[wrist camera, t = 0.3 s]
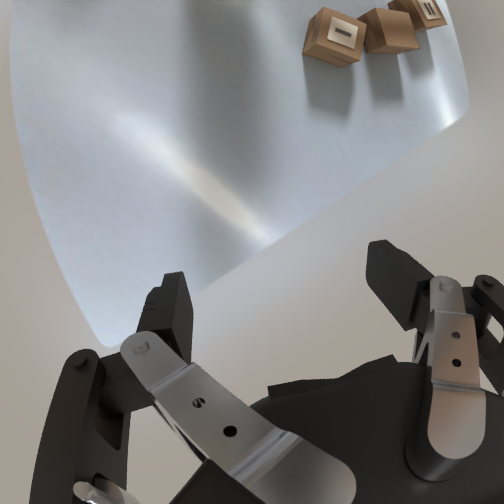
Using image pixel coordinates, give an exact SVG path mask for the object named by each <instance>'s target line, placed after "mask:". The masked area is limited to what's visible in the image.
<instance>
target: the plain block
mask: <svg viewBox="0 0 504 504" xmlns="http://www.w3.org/2000/svg"><path fill="white" fill-rule="evenodd" d="M357 20H358V21H360V22H363V23H365V24H367V25H366V31H365V37H364V46H365V50H366V53H389V54H399V53H403V52H407V51H411V50H415V49H419V45H418V42H417V38H416V35H415V31H414V28H413V25H412V22H411V18H410V15H409V13H406V12H401V11H395V10H389V9H382V8H374V9H372V10H371V11H369V12H367V13H365V14H364V15H362V16H360V17H359V18H357Z"/></svg>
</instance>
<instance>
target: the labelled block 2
mask: <svg viewBox="0 0 504 504" xmlns="http://www.w3.org/2000/svg"><path fill="white" fill-rule="evenodd" d="M387 4H388V5H389V7H390V9H391V10H395V11H401V12H406V13H409V15H410V18H411V22H412V25H413V28H414V31H415V32H416V31H422V30H427V29H431V28H435V27H439V26H443V25H447V22H446V20H445V18H444V16H443V14H442V12H441V10H440V9H439V7H438V5H437V3H436V1H435V0H393V1H391V2H389V3H387Z"/></svg>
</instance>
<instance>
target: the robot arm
mask: <svg viewBox="0 0 504 504" xmlns="http://www.w3.org/2000/svg"><path fill="white" fill-rule="evenodd" d="M366 280H367V283H368V285H369V287H370V288H371V289H372V290H373V292H374V293H375V294H376V295H377V297H378V298H379V299H380V300H381V301H382V303H383V304H384V305H385V306H386V308H387V309H388V310H389V311H390V313H392V315H393V316H394V317H395V319H396V320H397V321H398V323H399V324H400V325H401V327H402V328H403V329H404V330H405V331H407V330H410V329H413V328H416V329H417V332H416V335H415V342H414V350H413V357H412V362H397V361H396V359H395V357H394V356H393V354H392V355H389V356H386V357H383V358H380V359H377V360H374V361H370V362H367V363H365V364H363V365H361V366H359V367H358V368H356V369H354V370H352V371H351V372H349V373H347V374H345V375H343V376H341V377H339V378H335V379H314V380H313V379H312V380H298V381H293V382H288V383H283V384H278V385H273V386H268V395H269V396H267V397H265V398H263V399H261V400H259V401H257V402H255V403H254V404H252V405H251V406H247V405H246V404H245V403H244V402H242V401H241V400H240V399H238V398H237V397H236V396H235V395H233V394H232V393H231V392H230V391H228V390H227V389H226V388H225V387H223V386H222V385H221V384H220V383H219V382H217V381H216V380H215V379H214V378H213V377H211V376H210V375H209V374H208V373H207V372H206V371H204V370H203V369H202V368H201V367H200V366H199V365H197V364H196V363H194V362H192V363H191V349H192V331H193V307H192V302H191V299H190V295H189V291H188V287H187V284H186V280H185V276H184V273H183V272H182V271H181V272H174V273H167V274H164V278H163V281H162V285H161V286H160V287H154V288H153V289H152V290H151V292H150V293H149V294H148V295H147V298H146V301H145V305H144V307H143V312H142V314H141V317H140V320H139V324H138V327H137V331H136V333H135V334H133V335H131V336H129V337H128V338H127V339H125V340H124V342H123V343H122V345H121V348H120V352H118V353H115V354H112V355H109V356H106V357H103V358H99V356H98V355H97V353H96V352H95V351H94V350H91V349H82V350H79V351H77V352H75V353H73V354H72V355H71V356H69V358H68V359H67V360H66V362H65V364H64V366H63V369H62V372H61V375H60V377H59V380H58V383H57V386H56V389H55V392H54V395H53V398H52V402H51V405H50V408H49V411H48V415H47V418H46V422H45V426H44V429H43V433H42V437H41V441H40V445H39V449H38V454H37V459H36V463H35V469H34V474H33V479H32V486H31V492H30V500H29V504H140V503H139V502H138V500H137V499H136V498H135V497H134V496H133V495H131V494H130V493H128V492H127V491H126V484H127V457H128V456H127V455H128V441H129V429H130V418H131V412H132V411H135V410H139V409H142V408H145V407H148V406H151V405H152V406H153V408H154V409H155V410H156V411H157V413H158V414H159V415H160V416H161V418H162V419H163V420H164V421H165V422H166V424H167V425H168V426H169V427H170V428H171V429H172V431H173V432H174V433H175V434H176V435H177V436H178V437H179V439H180V440H181V441H182V442H183V443H184V444H185V446H186V447H187V448H188V449H189V450H190V451H191V453H192V454H193V455H194V456H195V457H196V458H197V459H198V460H199V461H200V462H201V463H202V465H201V466H200V467H199V468H198V470H197V471H196V472H195V473H194V475H193V476H192V477H191V478H190V479H189V481H188V482H187V483H186V484H185V486H184V487H183V488H182V489H181V490H180V491H179V493H178V494H177V495H176V496H175V497H174V498H173V500H172V501H171V502H170V503H169V504H504V337H503V339H502V341H501V343H499V342H498V340H497V339H496V338H495V337H494V336H493V334H492V333H491V332H490V331H489V330H488V329H487V326H488V324H489V321H490V319H491V317H492V316H493V317H494V318H495V319H496V320H497V321H498V322H499V323H500V324H501V325H502V327H503V330H504V286H503V285H502V284H501V283H500V282H499V281H498V280H496V279H495V278H493V277H491V276H488V275H478V276H476V278H475V280H474V284H473V287H461V285H460V284H459V282H457V281H456V280H455V279H453V278H450V277H447V276H436V277H435V276H434V275H433V274H431V273H430V272H429V271H428V270H427V269H426V268H425V267H423V266H422V265H421V264H419V262H417V261H416V260H415V259H413V257H411V256H410V255H409V254H408V253H407V252H404V251H402V250H400V249H397V248H396V247H395V246H394V245H392V244H391V243H390V242H389V241H387V240H379V241H373V242H370V243H369V245H368V255H367V265H366ZM479 367H480V368H481V370H482V371H483V372H484V374H485V375H486V377H487V378H488V379H489V381H490V382H491V384H492V385H493V387H494V388H495V390H496V391H497V393H498V394H499V395H497V394H495V393H492V392H490V391H487V390H484V389H482V388H481V387H480V374H479V373H480V372H479Z"/></svg>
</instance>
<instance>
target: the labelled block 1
mask: <svg viewBox="0 0 504 504" xmlns="http://www.w3.org/2000/svg"><path fill="white" fill-rule="evenodd" d="M366 25H367V24H365V23H363V22H360V21H358V20H356V19H354V18H351V17H349V16H347V15H344V14H342V13H339V12H337V11H334V10H331V9H329V8H326V7H323V8H322V9H321V10H320V11H319V12H318V13H317V14H316V15H315V16H314V17H313V18H312V19H311V20H310V21H309V25H308V29H307V34H306V38H305V42H304V47H303V51H302V54H303V55H306V56H310V57H313V58H316V59H319V60H322V61H325V62H327V63H330V64H333V65H336V66H338V67H344V66H347V65H349V64H352V63H355V62H358V61H360V59H361V54H362V49H363V43H364V37H365V31H366Z"/></svg>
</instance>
